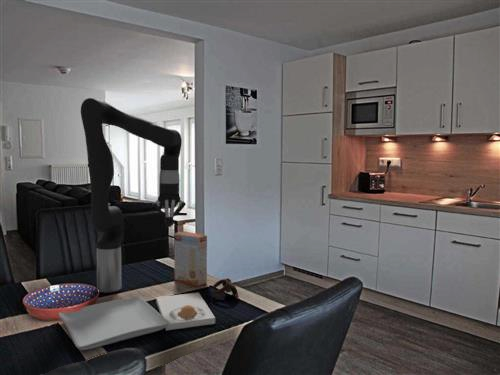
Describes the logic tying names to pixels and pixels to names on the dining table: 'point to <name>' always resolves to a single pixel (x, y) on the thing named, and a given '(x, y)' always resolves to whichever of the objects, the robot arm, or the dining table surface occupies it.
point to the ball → (187, 311)
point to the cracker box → (190, 258)
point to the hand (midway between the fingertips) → (169, 226)
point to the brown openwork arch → (224, 288)
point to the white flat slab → (175, 303)
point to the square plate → (112, 322)
